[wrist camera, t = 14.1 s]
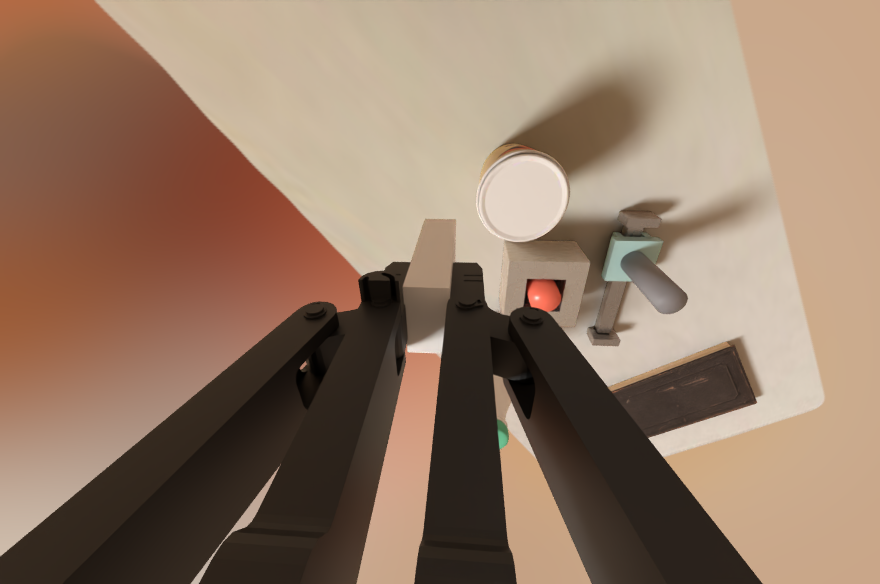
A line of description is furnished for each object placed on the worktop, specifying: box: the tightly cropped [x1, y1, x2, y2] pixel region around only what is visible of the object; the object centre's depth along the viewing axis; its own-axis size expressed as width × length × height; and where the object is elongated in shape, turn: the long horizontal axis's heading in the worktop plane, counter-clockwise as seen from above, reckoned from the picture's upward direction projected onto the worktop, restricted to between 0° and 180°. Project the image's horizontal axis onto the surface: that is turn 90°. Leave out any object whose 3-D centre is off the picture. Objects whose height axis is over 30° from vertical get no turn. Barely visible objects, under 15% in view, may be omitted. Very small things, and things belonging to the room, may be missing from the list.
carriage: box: [601, 232, 688, 314], centre depth 42 cm, size 6×6×13 cm
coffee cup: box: [476, 144, 570, 242], centre depth 39 cm, size 9×9×12 cm
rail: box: [587, 211, 661, 346], centre depth 49 cm, size 21×4×3 cm, turn 1°
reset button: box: [526, 279, 561, 312], centre depth 46 cm, size 4×4×6 cm
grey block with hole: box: [499, 240, 591, 327], centre depth 48 cm, size 10×10×7 cm
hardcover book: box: [608, 342, 757, 438], centre depth 61 cm, size 16×23×2 cm
